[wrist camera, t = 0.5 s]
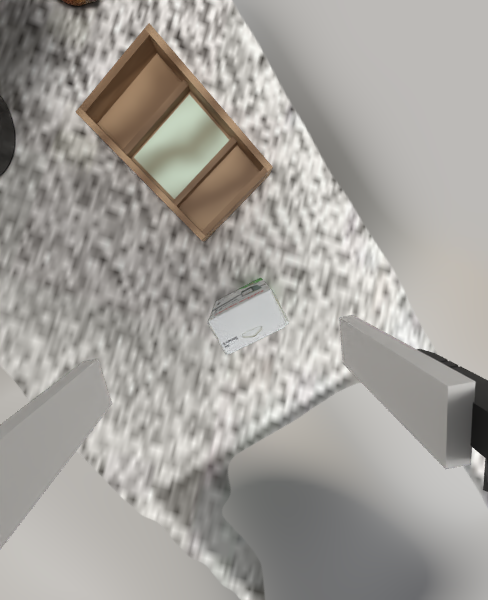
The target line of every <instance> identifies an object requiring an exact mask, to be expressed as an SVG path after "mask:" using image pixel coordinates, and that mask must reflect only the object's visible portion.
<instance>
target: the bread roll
mask: <svg viewBox="0 0 488 600" xmlns="http://www.w3.org/2000/svg"><path fill="white" fill-rule="evenodd" d="M62 1H64V2H66V3H67V4H71V5H76V6H81V5H84V4H86V3H89V2H93V1H94V2H95V1H96V0H62Z"/></svg>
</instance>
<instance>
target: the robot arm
mask: <svg viewBox="0 0 488 600" xmlns="http://www.w3.org/2000/svg"><path fill="white" fill-rule="evenodd" d="M14 143H15V135H14V127H13V122H12V119H11V116H10V113H9V111H8V108H7V106H6V104H5V103H4V101H3V99H2V98H1V96H0V175H1V174H2V173H3V172H4V170H5V169H6V168H7V166H8V164H9V162H10V160H11V158H12V155H13V151H14ZM339 321H340V334H341V347H342V360H343V364H344V365H345V366H346V367H347V368H348V369H349V370H350V371H351V372H352V374H353V375H354V376H355V377H356V378H357V379H358V380H359V381H360V382H361V383H362V384H363V385H364V386H365V387H366V388H367V389H368V390H369V391H370V392H371V393H372V394H373V395H374V396H375V397H376V398H377V399H378V400H379V401H380V402H381V403H382V404H383V405H384V406H385V407H386V408H387V409H388V410H389V411H390V412H391V414H393V416H394V417H395V418H396V419H397V420H398V421H399V422H400V423H401V424H402V425H403V426H404V427H405V428H406V429H407V430H408V431H409V432H410V433H411V434H412V435H413V436H414V437H415V438H416V439H417V440H418V441H419V442H420V443H421V444H422V445H423V446H424V447H425V448H426V449H427V450H428V452H429V453H430V454H431V455H433V456H434V458H435V459H436V460H437V461H438V462H439V463H440V464H441V465H442V466H443V467H444V468H445V469H449V468H455V467H460V466H466V465H471V454H472V447H473V448H474V449H475V450H477V451H478V452H479V453H480V454H481V455H483V456H484V457H485V458H486V459H485V473H484V487H483V490H485V491H488V380H486V379H484V378H482V377H480V376H478V375H476V374H474V373H472V372H470V371H468V370H466V369H464V368H462V367H458V365H457V364H454V363H453V362H451V361H447V359H445V358H443V357H441V356H439V355H437V354H435V353H432V352H428V351H425V350H422V349H415V348H413V347H411V346H409V345H407V344H406V343H404V342H402V341H400V340H398V339H396V338H394V337H393V336H391V335H389V334H387V333H385V332H383V331H382V330H380V329H378V328H376V327H374V326H372V325H370V324H369V323H367V322H365V321H363V320H361V319H359V318H358V317H356V316H354V315H351V316H345V317H339ZM111 405H112V401H111V398H110V395H109V392H108V389H107V386H106V382H105V379H104V376H103V373H102V370H101V367H100V364H99V360H98V359H94V360H88V361H83V362H82V363H81V364H79V365H78V366H77V367H75V368H74V369H73V370H71V371H70V372H69V373H67V374H66V375H65V376H64V377H62V378H61V379H60V380H58V381H57V382H56V383H54V384H53V385H52V386H50V387H49V388H48V389H46V390H45V391H44V392H42V393H41V394H40V395H39V396H37V397H36V398H35V399H33V400H32V401H31V402H29V403H28V404H27V405H25V406H24V407H23V408H21V409H20V410H19V411H17V412H16V413H15V414H14V415H12V416H11V417H10V418H9V419H7V420H6V421H4V422H3V423H2V424H0V549H1V548H2V547H3V545H4V544H5V543H6V541H7V540H8V539H9V538H10V536H11V535H12V534H13V532H14V531H15V530H16V529H17V527H18V526H19V525H20V523H21V522H22V521H23V519H24V518H25V517H26V516H27V514H28V513H29V512H30V510H31V509H32V508H33V506H34V505H35V504H36V503H37V501H38V500H39V499H40V497H41V496H42V494H43V493H44V492H45V491H46V489H47V488H48V487H49V486H50V484H51V483H52V482H53V480H54V479H55V478H56V476H57V475H58V474H59V472H60V471H61V470H62V469H63V467H64V466H65V465H66V463H67V462H68V461H69V459H70V458H71V457H72V456H73V454H74V453H75V452H76V450H77V449H78V448H79V447H80V445H81V444H82V443H83V441H84V440H85V439H86V437H87V436H88V435H89V434H90V432H91V431H92V430H93V428H94V427H95V426H96V424H97V423H98V422H99V421H100V419H101V418H102V417H103V415H104V414H105V413H106V411H107V410H108V409H109V408H110V406H111Z"/></svg>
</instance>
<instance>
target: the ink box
mask: <svg viewBox="0 0 488 600" xmlns="http://www.w3.org/2000/svg"><path fill="white" fill-rule="evenodd" d="M208 324H209V326H210V328H211V329H212V331H213V333H214V335H215V336H216V338H217V340H218V342H219V344H220V345H221V347H222V349H223V350H224V352H225V354H231V353H233V352H235V351H237V350H239V349H241V348H243V347H245V346H247V345H249V344H251V343H253V342H255V341H258V340H260V339H262V338H264V337H266V336H268V335H270V334H272V333H274V332H276V331H278V330H281V329H283V328H284V327H285V326H286V325H287V324H289V321H288V319H287V317H286V315H285V313H284V311H283V309H282V307H281V305H280V303H279V301H278V299H277V298H276V296H275V294H274V292H273V291H272V289H271V288H270V287H269V286H268V285H267V284H266V283H265V281H264V280H263V279H262V278H259V279H257V280H255V281H254V282H252V283H250V284H248V285H246V286H244V287H242V288H240V289H238V290H236V291H235V292H233V293H231V294H229V295H227V296H225V297H223V298H221V299H220V300H218V301H216V303H215V306H214V308H213V310H212V313H211V315H210V318H209V320H208Z"/></svg>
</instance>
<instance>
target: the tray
mask: <svg viewBox="0 0 488 600" xmlns="http://www.w3.org/2000/svg"><path fill="white" fill-rule="evenodd" d="M76 113H77V114H78V115H79V116H80V117H81V118H82V119H83V120H84V121H85V122H86V123H87V124H88V125H89V126H90V127H91V128H92V129H93V130H94V131H95V132H96V133H97V134H98V135H99V136H100V137H101V139H102V140H103V141H104V142H105V143H106V144H107V145H108V146H109V147H110V148H111V149H112V150H113V151H114V152H115V153H116V154H117V155H118V156H119V157H120V158H121V159H122V160H123V161H124V162H125V163H126V164H127V165H128V166H129V167H130V168H131V169H132V170H133V171H134V172H135V173H136V174H137V175H138V176H139V177H140V178H141V179H142V180H143V181H144V182H145V183H146V184H147V185H148V186H149V187H150V188H151V189H152V190H153V191H154V192H155V194H156V195H157V196H158V197H159V198H160V199H161V200H162V201H163V202H164V203H165V204H166V205H167V206H168V207H169V208H170V209H171V210H172V211H173V212H174V213H175V214H176V215H177V216H178V217H179V218H180V219H181V220H182V221H183V222H184V223H185V224H186V225H187V226H188V227H189V228H190V229H191V230H192V231H193V232H194V233H195V234H196V235H197V236H198V237H199V238H200V239H201V240H202V241H204V242H205V241H206V240H207V239H208V238H209V237H210V235H211V234H212V233H213V232H214V231H215V230H216V229H217V228H218V227H219V226H220V225H221V224H222V223H223V222H224V221H225V220H226V219H227V218H228V217H229V216H230V215H231V214H232V213H233V212H234V211H235V210H236V209H237V208H238V207H239V206H240V205H241V204H242V203H243V202H244V201H245V200H246V199H247V198H248V197H249V196H250V194H251V193H252V192H253V191H254V190H255V189H256V188H257V187H258V186H259V185H260V184H261V183H262V182H263V181H264V180H265V179H266V178H267V177H268V176H269V174H270V172H271V170H272V166H271V164H270V163H269V162H268V161H267V160H266V159H265V158H264V156H263V155H262V154H261V153H260V152H259V151H258V149H257V148H256V147H255V146H254V145H253V144H252V142H251V141H250V140H249V139H248V138H247V137H246V135H245V134H244V133H243V132H242V131H241V130H240V128H239V127H238V126H237V125H236V124H235V123H234V121H233V120H232V119H231V118H230V117H229V116H228V114H227V113H226V112H225V111H224V110H223V109H222V107H221V106H220V105H219V104H218V103H217V102H216V100H215V99H214V98H213V97H212V96H211V95H210V93H209V92H208V91H207V90H206V89H205V88H204V86H203V85H202V84H201V83H200V82H199V81H198V79H197V78H196V77H195V76H194V75H193V74H192V72H191V71H190V70H189V69H188V68H187V67H186V65H185V64H184V63H183V62H182V61H181V60H180V59H179V57H178V56H177V55H176V54H175V53H174V52H173V50H172V49H171V48H170V47H169V46H168V45H167V43H166V42H165V41H164V40H163V39H162V38H161V36H160V35H159V34H158V33H157V32H156V31H155V29H154V28H153V27H152V26H151V25H150V24H148V25H147V26H146V27H145V29H144V30H143V31H142V32H141V33H140V35H139V36H138V37H137V38H136V39H135V41H134V42H133V43H132V44H131V46H130V47H129V48H128V49H127V50H126V52H125V53H124V54H123V55H122V56H121V58H120V59H119V60H118V61H117V62H116V64H115V65H114V66H113V67H112V68H111V70H110V71H109V72H108V73H107V75H106V76H105V77H104V78H103V79H102V81H101V82H100V83H99V84H98V85H97V87H96V88H95V89H94V90H93V91H92V93H91V94H90V95H89V96H88V98H87V99H86V100H85V101H84V102H83V104H82V105H81V106H80V107H79V108H78V110H77V111H76Z"/></svg>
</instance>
